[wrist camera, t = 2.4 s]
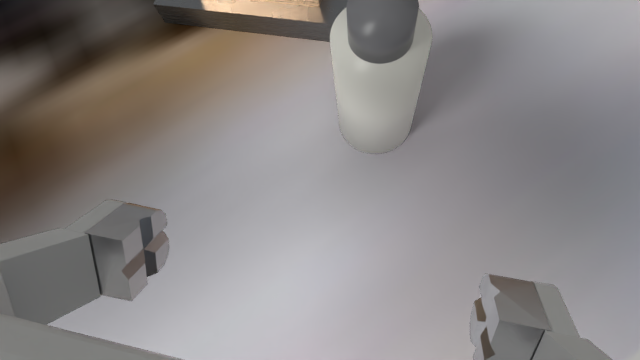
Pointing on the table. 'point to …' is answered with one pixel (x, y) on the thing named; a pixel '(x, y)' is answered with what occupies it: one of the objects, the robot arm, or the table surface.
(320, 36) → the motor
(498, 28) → the table surface
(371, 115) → the white capped bottle
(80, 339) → the robot arm
